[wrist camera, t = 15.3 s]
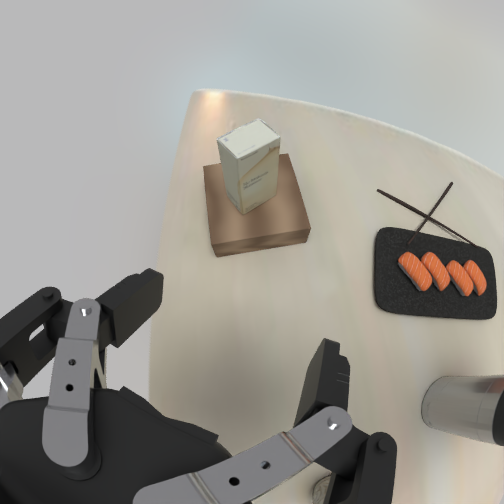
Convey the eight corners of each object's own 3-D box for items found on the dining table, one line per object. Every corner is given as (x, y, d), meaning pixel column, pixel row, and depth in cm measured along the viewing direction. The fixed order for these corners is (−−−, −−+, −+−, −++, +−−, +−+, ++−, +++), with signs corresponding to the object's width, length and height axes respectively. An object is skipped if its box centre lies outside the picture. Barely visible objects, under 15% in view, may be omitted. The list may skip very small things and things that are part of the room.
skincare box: (242, 216, 39) (235, 161, 28) (226, 195, 40) (214, 138, 29) (278, 194, 40) (282, 136, 29) (260, 175, 42) (259, 116, 30)
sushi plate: (369, 313, 39) (379, 308, 35) (367, 160, 49) (373, 147, 46) (491, 321, 36) (504, 317, 32) (474, 191, 47) (482, 182, 43)
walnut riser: (286, 171, 48) (288, 153, 43) (305, 242, 43) (310, 228, 38) (208, 183, 47) (203, 166, 43) (216, 257, 42) (211, 244, 38)
